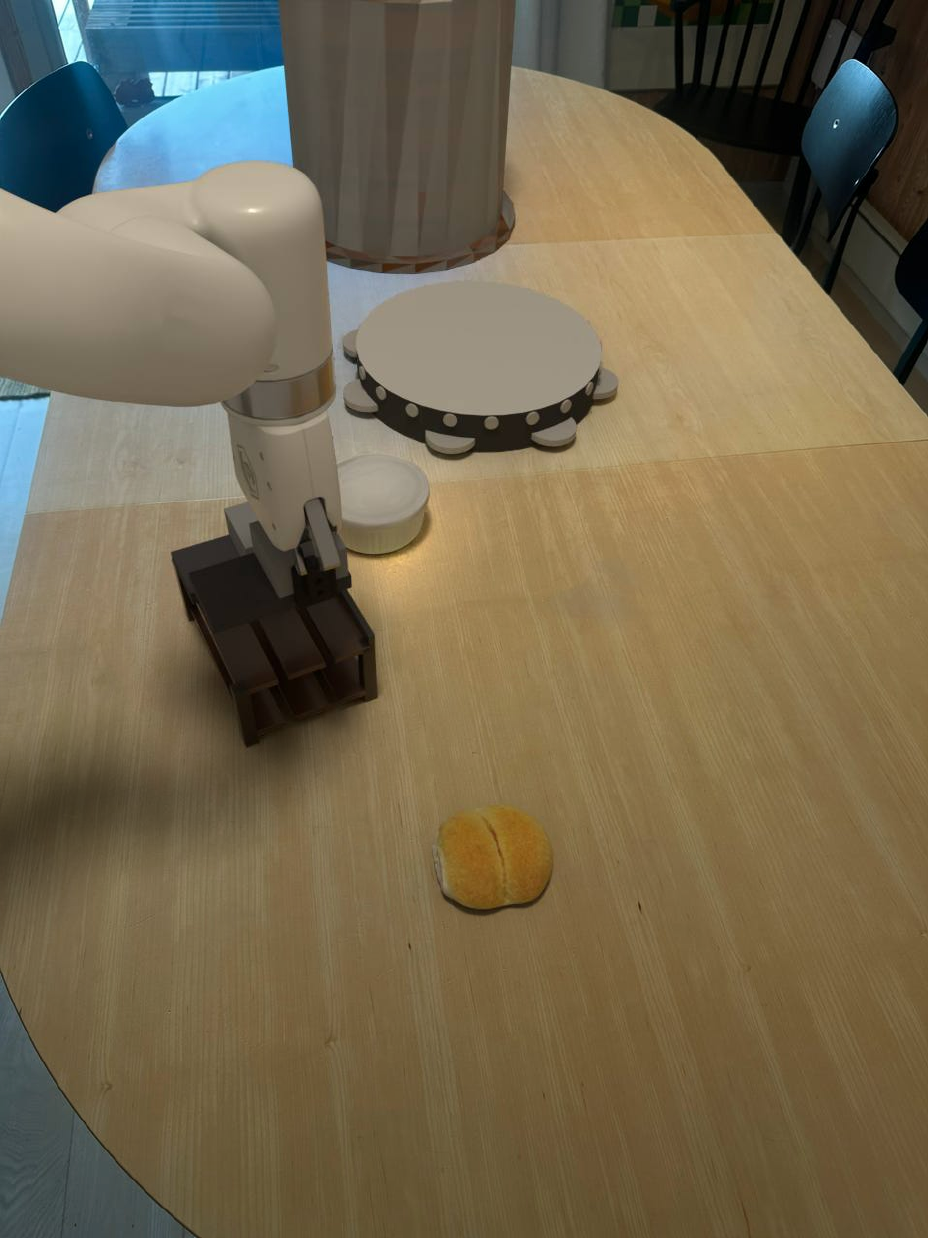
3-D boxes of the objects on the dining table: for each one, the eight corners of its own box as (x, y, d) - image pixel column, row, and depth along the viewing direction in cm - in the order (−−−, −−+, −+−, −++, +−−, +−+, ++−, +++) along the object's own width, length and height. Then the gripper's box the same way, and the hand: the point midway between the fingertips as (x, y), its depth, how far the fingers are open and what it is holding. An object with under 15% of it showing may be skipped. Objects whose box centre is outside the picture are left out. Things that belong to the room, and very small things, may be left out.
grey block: (192, 605, 82) (183, 567, 78) (173, 563, 85) (163, 525, 82) (315, 565, 85) (311, 528, 82) (292, 527, 89) (287, 489, 85)
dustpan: (214, 634, 71) (204, 593, 68) (191, 585, 74) (180, 543, 71) (352, 587, 75) (349, 546, 72) (324, 542, 78) (320, 501, 75)
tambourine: (620, 323, 128) (626, 288, 124) (610, 481, 106) (617, 444, 102) (367, 295, 131) (365, 260, 127) (304, 444, 108) (301, 406, 105)
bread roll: (564, 900, 72) (570, 874, 69) (446, 923, 71) (448, 898, 68) (534, 805, 78) (539, 778, 75) (424, 825, 76) (425, 798, 73)
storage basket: (521, 176, 158) (540, -60, 134) (507, 283, 134) (527, 19, 111) (309, 159, 159) (290, -78, 135) (258, 262, 136) (225, -4, 112)
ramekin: (358, 477, 105) (356, 438, 101) (449, 512, 101) (450, 473, 98) (298, 538, 98) (294, 498, 94) (393, 578, 95) (392, 538, 91)
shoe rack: (246, 748, 81) (232, 685, 74) (185, 613, 90) (168, 548, 84) (377, 697, 85) (375, 634, 78) (305, 573, 95) (298, 509, 88)
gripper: (178, 320, 66) (219, 520, 79) (266, 466, 55) (296, 667, 69) (283, 297, 68) (305, 494, 81) (385, 432, 58) (392, 632, 71)
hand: (301, 572), depth 75 cm, fingers closed on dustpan, 5 cm apart
